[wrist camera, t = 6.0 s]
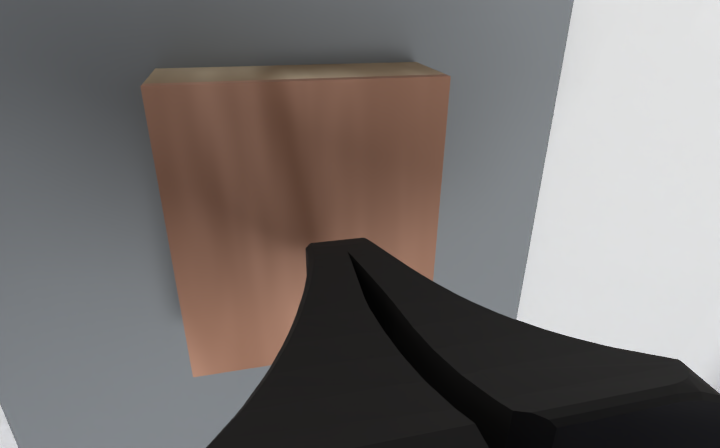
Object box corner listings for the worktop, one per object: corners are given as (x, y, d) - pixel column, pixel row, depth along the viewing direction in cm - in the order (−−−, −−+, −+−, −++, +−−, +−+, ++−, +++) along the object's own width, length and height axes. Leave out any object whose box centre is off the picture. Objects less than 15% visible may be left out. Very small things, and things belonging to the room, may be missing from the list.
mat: (45, 498, 18) (42, 505, 18) (-190, -77, 10) (-201, -79, 10) (495, 411, 22) (498, 416, 22) (576, -54, 14) (583, -54, 14)
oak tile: (192, 377, 14) (427, 340, 15) (140, 85, 10) (450, 76, 12) (197, 323, 16) (402, 296, 18) (155, 68, 13) (415, 61, 14)
